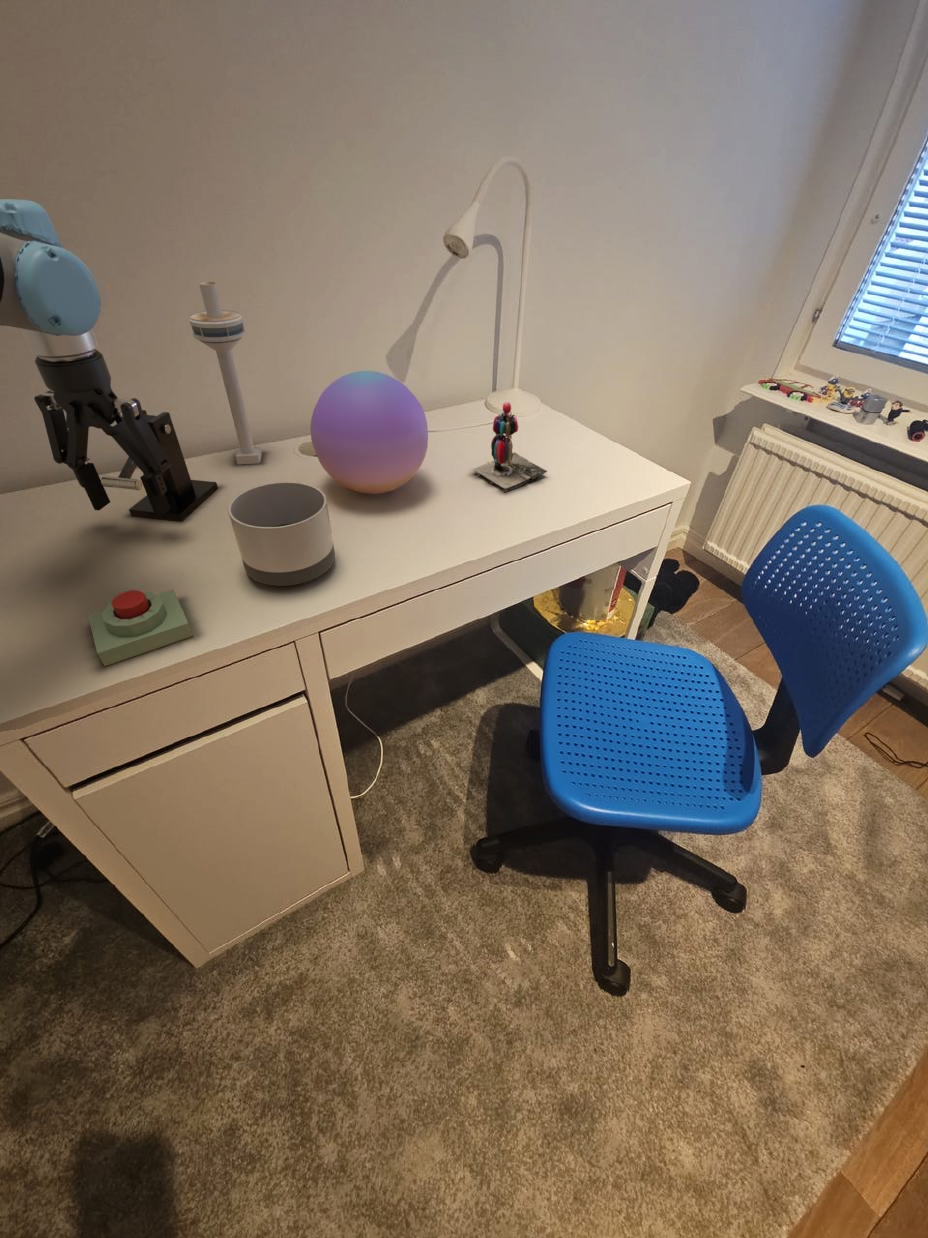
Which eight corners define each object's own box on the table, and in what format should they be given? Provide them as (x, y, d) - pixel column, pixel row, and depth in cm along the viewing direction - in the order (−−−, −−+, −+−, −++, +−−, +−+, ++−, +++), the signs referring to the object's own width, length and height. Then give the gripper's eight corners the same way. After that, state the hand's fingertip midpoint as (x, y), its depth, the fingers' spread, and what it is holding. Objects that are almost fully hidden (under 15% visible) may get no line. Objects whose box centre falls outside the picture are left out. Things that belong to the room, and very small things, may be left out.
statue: (505, 498, 100) (505, 421, 90) (473, 478, 106) (469, 403, 95) (547, 476, 105) (552, 400, 94) (514, 458, 110) (515, 384, 99)
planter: (244, 550, 83) (227, 487, 76) (329, 537, 86) (319, 476, 79) (248, 600, 73) (228, 534, 67) (342, 584, 77) (333, 520, 70)
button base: (104, 666, 63) (90, 641, 61) (95, 628, 68) (81, 603, 66) (193, 636, 68) (183, 611, 65) (178, 602, 73) (169, 578, 70)
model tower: (230, 451, 109) (184, 278, 89) (273, 449, 110) (237, 278, 91) (224, 469, 103) (174, 288, 83) (270, 467, 104) (230, 288, 85)
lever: (141, 494, 81) (131, 483, 79) (107, 490, 81) (97, 480, 79) (173, 427, 86) (165, 416, 84) (142, 424, 87) (133, 413, 84)
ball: (451, 488, 100) (453, 375, 87) (368, 527, 89) (356, 404, 76) (380, 455, 110) (372, 349, 97) (297, 487, 98) (275, 371, 85)
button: (119, 623, 64) (114, 612, 63) (114, 607, 66) (109, 596, 65) (152, 613, 65) (147, 602, 64) (146, 597, 68) (141, 586, 67)
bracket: (181, 521, 88) (150, 433, 79) (131, 515, 89) (93, 427, 80) (218, 488, 97) (193, 405, 88) (171, 483, 98) (142, 400, 89)
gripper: (164, 351, 70) (212, 505, 85) (12, 339, 72) (83, 490, 87) (129, 368, 65) (186, 529, 79) (-36, 354, 67) (49, 513, 81)
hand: (132, 509), depth 83 cm, fingers open, 9 cm apart
